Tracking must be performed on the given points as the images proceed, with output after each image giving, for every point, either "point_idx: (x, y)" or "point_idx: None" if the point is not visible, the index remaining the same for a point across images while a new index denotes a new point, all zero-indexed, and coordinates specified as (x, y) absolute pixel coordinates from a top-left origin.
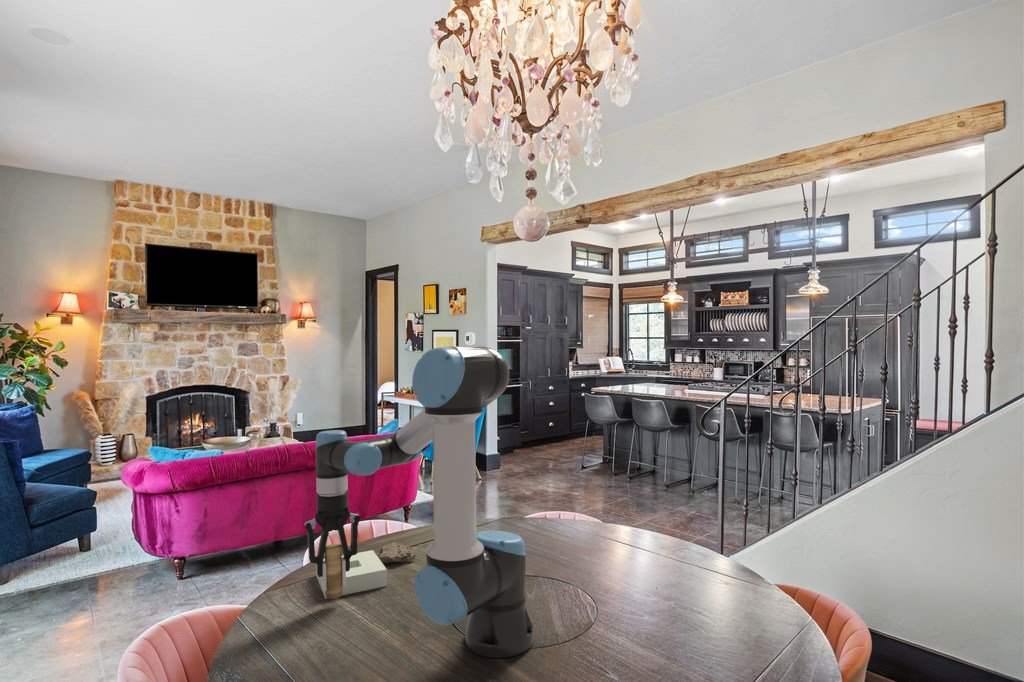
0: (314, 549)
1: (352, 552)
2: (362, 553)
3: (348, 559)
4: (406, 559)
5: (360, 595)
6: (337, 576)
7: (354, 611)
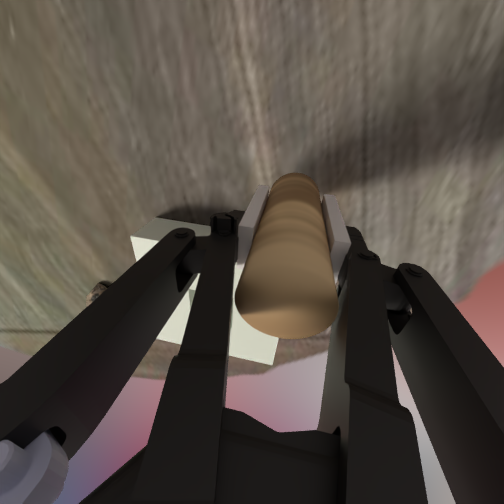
0: (433, 320)
1: (191, 238)
2: (177, 338)
3: (224, 215)
4: (104, 290)
5: (219, 208)
6: (286, 196)
7: (257, 122)
